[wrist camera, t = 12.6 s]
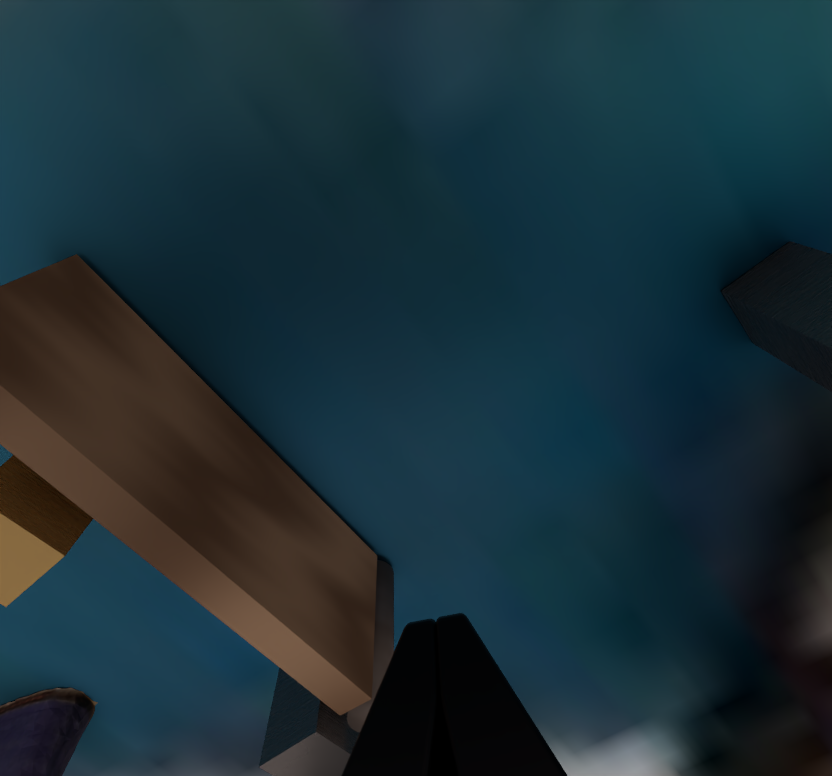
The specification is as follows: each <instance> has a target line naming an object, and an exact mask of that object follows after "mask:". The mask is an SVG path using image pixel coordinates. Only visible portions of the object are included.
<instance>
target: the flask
mask: <svg viewBox="0 0 832 776" xmlns="http://www.w3.org/2000/svg"><path fill="white" fill-rule="evenodd" d="M97 703H98V702H94V701H92V700H91V699H90V698H89V697H88V696H87V695H85V694H84V693H83V692H82V691H78V690H75V689H73V688H67V689H61V688H55V689H51V690H45V691H40V692H38V693H34V694H32V695H30V696H27V697H23V698H19V699H18V700H17V699H16V701H14V702H8V703H7V704H4V705H2V706H0V776H62V775H63V773H64V770H65V768H66V766H67V764H68V762H69V760H70V758H71V756H72V755H73V753H74V751H75V748H76V746H77V744H78V741H79V740H80V738H81V736H82V734H83V732H84V730H85V729H86V727H87V725H88V723H89V722H90V720H91V718H92V716H93V714H94V711H95V705H96V704H97Z"/></svg>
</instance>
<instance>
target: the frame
mask: <svg viewBox="0 0 832 776" xmlns="http://www.w3.org/2000/svg"><path fill="white" fill-rule="evenodd" d="M721 292H722V294H723V295H724V297H725V299H726V300H727V302H728V303H729V305H730V307H731V308H732V310H733V312H734V313H735V315H736V316H737V318H738V320H739V321H740V323H741V324H742V326H743V328H744V329H745V331H746V332H747V334H748V336H749V337H750V339H751V341H752V342H753V344H755V345H757V346H758V347H760V348H761V349H763V350H765V351H766V352H768V353H769V354H771V355H773V356H774V357H776V358H778V359H779V360H781V361H782V362H784V363H786V364H787V365H789V366H791V367H792V368H794V369H795V370H797V371H799V372H800V373H802V374H803V375H805V376H807V377H808V378H810V379H812V380H813V381H815V382H816V383H818V384H820V385H821V386H823V387H825V388H826V389H828V390H829V391H831V392H832V254H830V253H827V252H823V251H820V250H817V249H813V248H810V247H807V246H803V245H800V244H797V243H793V242H789V243H787V244H786V245H785V246H783V247H782V248H780V249H779V250H777V251H776V252H775V253H773V254H772V255H770V256H769V257H768V258H766V259H765V260H763V261H762V262H761V263H759V264H758V265H756V266H755V267H754V268H752V269H751V270H749V271H748V272H747V273H745V274H744V275H742V276H741V277H740V278H738V279H737V280H735V281H734V282H733V283H731V284H730V285H728V286H727V287H726V288H724V289H723V290H721ZM92 519H93V518H92V517H91V516H90V515H88V514H87V513H86V512H85V511H83V510H82V509H81V508H80V507H78V506H77V505H76V504H75V503H73V502H72V501H71V500H70V499H68V498H67V497H66V496H65V495H63V494H62V493H61V492H60V491H58V490H57V489H56V488H55V487H53V486H52V485H51V484H50V483H48V482H47V481H46V480H45V479H43V478H42V477H41V476H40V475H38V474H37V473H36V472H35V471H33V470H32V469H31V468H30V467H28V466H27V465H26V464H25V463H23V462H22V461H21V460H20V459H18V458H17V457H16V456H15V455H13V456H12V457H11V458H10V459H9V460H7V461H6V462H5V463H4V464H3V465H2V466H1V467H0V604H2V605H3V606H5V607H6V606H8V605H9V604H10V603H11V602H12V601H13V600H15V599H16V598H17V597H18V596H19V595H20V594H21V593H23V592H24V591H25V590H26V589H27V588H28V587H30V586H31V585H32V584H33V583H34V582H35V581H36V580H38V579H39V578H40V577H41V576H42V575H43V574H45V573H46V572H47V571H48V570H49V569H50V568H52V567H53V566H54V565H55V564H56V563H57V562H58V561H60V560H61V559H62V558H63V557H64V556H65V555H66V554H67V552H68V551H69V550H70V548H71V547H72V546H73V545H74V543H75V542H76V541H77V539H78V538H79V537H80V535H81V534H82V533H83V531H84V530H85V529H86V527H87V526H88V525H89V523H90V522H91V521H92ZM347 713H348V712H346V713H344V714H342V715H339V714H337V713H336V712H335V711H334V710H332V709H331V708H330V707H329V706H327V705H326V704H325V703H324V702H322V701H321V700H320V699H319V698H317V697H316V696H315V695H314V694H312V693H311V692H310V691H309V690H307V689H306V688H305V687H304V686H302V685H301V684H300V683H298V682H297V681H296V680H295V679H293V678H292V677H291V676H290V675H288V674H287V673H286V672H285V671H283V670H282V669H281V668H279V673H278V678H277V682H276V687H275V692H274V697H273V702H272V706H271V711H270V716H269V721H268V726H267V730H266V735H265V740H264V745H263V750H262V754H261V759H260V764H259V768H261V769H263V770H264V771H266V772H268V773H269V774H271V775H273V776H341V775H342V773H343V770H344V768H345V766H346V763H347V761H348V759H349V756H350V754H351V752H352V749H353V747H354V745H355V742H356V740H357V738H358V735H359V732H357V731H355V730H353V729H352V728H351V727H350V726H349V725H348V722H347Z"/></svg>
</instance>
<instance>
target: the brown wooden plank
mask: <svg viewBox="0 0 832 776" xmlns="http://www.w3.org/2000/svg"><path fill="white" fill-rule="evenodd" d="M0 444H1V445H2V446H3V447H5V448H6V449H7V450H8V451H10V452H11V453H12V454H13V455H15V456H16V457H17V458H18V459H20V460H21V461H22V462H23V463H25V464H26V465H27V466H28V467H30V468H31V469H32V470H33V471H35V472H36V473H37V474H38V475H40V476H41V477H42V478H43V479H45V480H46V481H47V482H48V483H50V484H51V485H52V486H53V487H55V488H56V489H57V490H58V491H60V492H61V493H62V494H63V495H65V496H66V497H67V498H68V499H70V500H71V501H72V502H73V503H75V504H76V505H77V506H78V507H80V508H81V509H82V510H83V511H85V512H86V513H87V514H88V515H90V516H91V517H92V518H93V519H95V520H96V521H97V522H98V523H100V524H101V525H102V526H103V527H105V528H106V529H107V530H108V531H110V532H111V533H112V534H113V535H115V536H116V537H117V538H118V539H120V540H121V541H122V542H123V543H125V544H126V545H127V546H128V547H130V548H131V549H132V550H133V551H135V552H136V553H137V554H138V555H140V556H141V557H142V558H143V559H145V560H146V561H147V562H148V563H150V564H151V565H152V566H153V567H155V568H156V569H157V570H158V571H160V572H161V573H162V574H163V575H165V576H166V577H167V578H168V579H170V580H171V581H172V582H173V583H175V584H176V585H177V586H178V587H180V588H181V589H182V590H183V591H185V592H186V593H187V594H188V595H190V596H191V597H192V598H193V599H195V600H196V601H197V602H198V603H200V604H201V605H202V606H203V607H205V608H206V609H207V610H208V611H210V612H211V613H212V614H213V615H215V616H216V617H217V618H218V619H220V620H221V621H222V622H223V623H225V624H226V625H227V626H228V627H230V628H231V629H232V630H233V631H235V632H236V633H237V634H238V635H240V636H241V637H242V638H243V639H245V640H246V641H247V642H248V643H250V644H251V645H252V646H253V647H255V648H256V649H257V650H258V651H260V652H261V653H262V654H263V655H265V656H266V657H267V658H268V659H270V660H271V661H272V662H273V663H275V664H276V665H277V666H278V667H280V668H281V669H282V670H283V671H285V672H286V673H287V674H288V675H290V676H291V677H292V678H293V679H295V680H296V681H297V682H298V683H300V684H301V685H302V686H304V687H305V688H306V689H307V690H309V691H310V692H311V693H312V694H314V695H315V696H316V697H317V698H319V699H320V700H321V701H322V702H324V703H325V704H326V705H327V706H329V707H330V708H331V709H332V710H334V711H335V712H336V713H337V714H339V715H342V714H344V713H346V712H348V713H347V722H348V725H349V726H350V727H351V728H352V729H353V730H355V731H357V732H359V733H360V731H361V728H362V726H363V724H364V721H365V719H366V717H367V714H368V712H369V709H370V707H371V705H372V702H373V700H374V698H375V695H376V693H377V691H378V688H379V686H380V684H381V681H382V679H383V677H384V674H385V672H386V670H387V667H388V665H389V663H390V660H391V658H392V656H393V653H394V572H393V569H392V567H391V566H390V565H389V564H388V563H386V562H384V561H380V560H377V555H376V554H375V553H374V552H373V551H372V550H371V549H370V548H369V547H368V546H367V545H366V544H365V543H364V542H363V541H362V540H361V539H360V538H359V537H358V536H357V535H356V534H355V533H354V532H353V531H352V530H351V529H350V528H349V527H348V526H347V525H346V524H345V523H344V522H343V521H342V520H341V519H340V518H339V517H338V516H337V515H336V514H335V513H334V512H333V511H332V510H331V509H330V508H329V507H328V506H327V505H326V504H325V503H324V502H323V501H322V500H321V499H320V498H319V497H318V496H317V495H316V494H315V493H314V492H313V491H312V490H311V489H310V488H309V487H308V486H307V485H306V484H305V483H304V482H303V481H302V480H301V479H300V478H299V477H298V476H297V475H296V474H295V473H294V472H293V471H292V470H291V469H290V468H289V467H288V466H287V465H286V464H285V463H284V462H283V461H282V460H281V459H280V458H279V457H278V456H277V455H276V454H275V453H274V452H273V451H272V450H271V449H270V448H269V447H268V446H267V445H266V444H265V443H264V442H263V441H262V440H261V439H260V438H259V437H258V436H257V435H256V434H255V433H254V432H253V431H252V430H251V429H250V428H249V427H248V426H247V425H246V424H245V423H244V422H243V420H242V419H241V418H240V417H239V416H238V415H237V414H236V413H235V412H234V411H233V410H232V409H231V408H230V407H229V406H228V405H227V404H226V403H225V402H224V401H223V400H222V399H221V398H220V397H219V396H218V395H217V394H216V393H215V392H214V391H213V390H212V389H211V388H210V387H209V386H208V385H207V384H206V383H205V382H204V381H203V380H202V379H201V378H200V377H199V376H198V375H197V374H196V373H195V372H194V371H193V370H192V369H191V368H190V367H189V366H188V365H187V364H186V363H185V362H184V361H183V360H182V359H181V358H180V357H179V356H178V355H177V354H176V353H175V352H174V351H173V350H172V349H171V348H170V347H169V346H168V345H167V344H166V343H165V342H164V341H163V340H162V339H161V338H160V337H159V336H158V335H157V334H156V333H155V332H154V331H153V330H152V329H151V328H150V327H149V326H148V325H147V324H146V323H145V322H144V321H143V320H142V319H141V318H140V317H139V316H138V315H137V314H136V313H135V312H134V311H133V310H132V309H131V308H130V307H129V306H128V305H127V304H126V303H125V302H124V301H123V300H122V299H121V298H120V297H119V296H118V295H117V294H116V293H115V292H114V291H113V290H112V289H111V288H110V287H109V286H108V285H107V284H106V283H105V282H104V281H103V280H102V279H101V278H100V277H99V276H98V275H97V274H96V273H95V272H94V271H93V270H92V269H91V268H90V267H89V266H88V265H87V264H86V263H85V262H84V261H83V260H82V259H81V258H80V257H79V256H78V255H77V254H76V255H74V256H71V257H69V258H67V259H64V260H62V261H60V262H57V263H55V264H52V265H50V266H48V267H45V268H43V269H40V270H38V271H36V272H33V273H31V274H29V275H26V276H24V277H21V278H19V279H17V280H14V281H12V282H9V283H7V284H5V285H2V286H0Z"/></svg>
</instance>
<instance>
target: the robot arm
mask: <svg viewBox="0 0 832 776" xmlns="http://www.w3.org/2000/svg"><path fill="white" fill-rule="evenodd" d="M341 776H567V774H566V773H565V771H564V770H563V768H562V766H561V765H560V763H559V762H558V760H557V759H556V757H555V755H554V754H553V752H552V751H551V749H550V747H549V746H548V744H547V743H546V741H545V740H544V738H543V736H542V735H541V733H540V732H539V730H538V728H537V727H536V725H535V724H534V722H533V721H532V719H531V717H530V716H529V714H528V713H527V711H526V710H525V708H524V706H523V705H522V703H521V702H520V700H519V698H518V697H517V695H516V694H515V692H514V691H513V689H512V687H511V686H510V684H509V683H508V681H507V679H506V678H505V676H504V675H503V673H502V672H501V670H500V668H499V667H498V665H497V664H496V662H495V661H494V659H493V657H492V656H491V654H490V653H489V651H488V649H487V648H486V646H485V645H484V643H483V642H482V640H481V638H480V637H479V635H478V634H477V632H476V630H475V629H474V627H473V626H472V624H471V623H470V621H469V619H468V618H467V617H466V615H464V614H463V613H458V614H453V615H447V616H442V617H439V618H438V619H437V621H436V622H435V620H433V619H426V620H421V621H415V622H410V623H408V624H407V625H406V626H405V628H404V630H403V632H402V635H401V637H400V639H399V642H398V644H397V646H396V649H395V651H394V653H393V656H392V658H391V660H390V663H389V665H388V667H387V670H386V672H385V674H384V677H383V679H382V681H381V684H380V686H379V688H378V691H377V693H376V695H375V698H374V700H373V702H372V705H371V707H370V709H369V712H368V714H367V717H366V719H365V721H364V724H363V726H362V728H361V731H360V733H359V735H358V738H357V740H356V742H355V745H354V747H353V749H352V752H351V754H350V756H349V759H348V761H347V763H346V766H345V768H344V770H343V773H342V775H341Z"/></svg>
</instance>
